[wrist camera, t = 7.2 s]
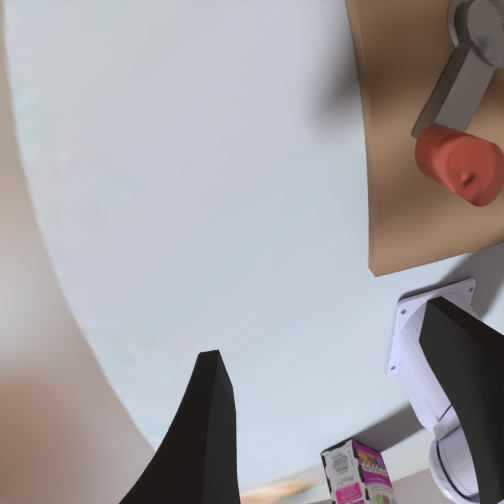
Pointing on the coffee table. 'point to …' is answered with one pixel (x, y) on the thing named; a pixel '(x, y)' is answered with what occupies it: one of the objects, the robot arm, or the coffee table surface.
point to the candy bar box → (357, 475)
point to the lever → (464, 109)
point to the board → (403, 144)
